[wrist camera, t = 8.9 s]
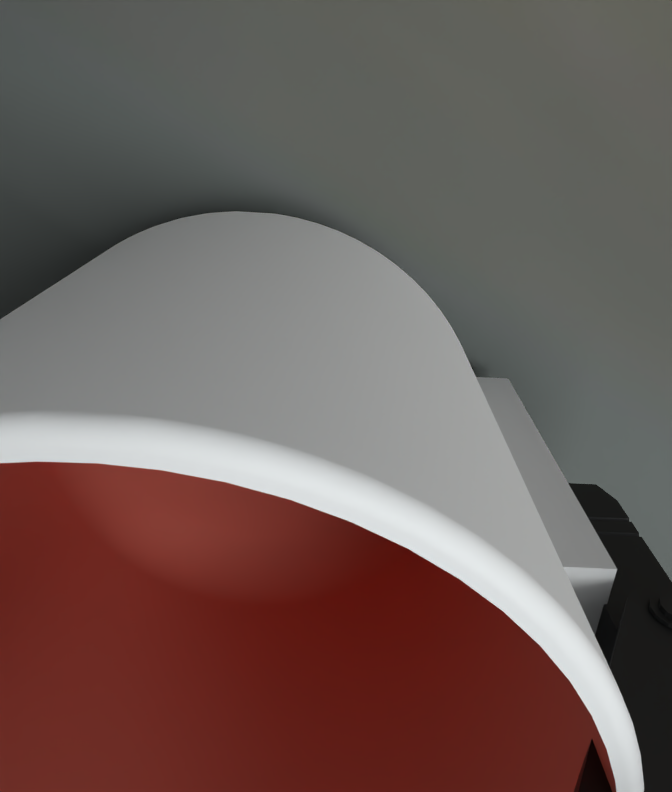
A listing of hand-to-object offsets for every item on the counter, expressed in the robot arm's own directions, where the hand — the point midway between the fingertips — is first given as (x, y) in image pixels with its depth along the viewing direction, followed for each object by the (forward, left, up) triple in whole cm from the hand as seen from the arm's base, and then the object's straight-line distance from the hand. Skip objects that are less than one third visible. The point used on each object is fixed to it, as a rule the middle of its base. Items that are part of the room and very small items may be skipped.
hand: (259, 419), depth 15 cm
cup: (0, 0, -1) cm, 1 cm away
